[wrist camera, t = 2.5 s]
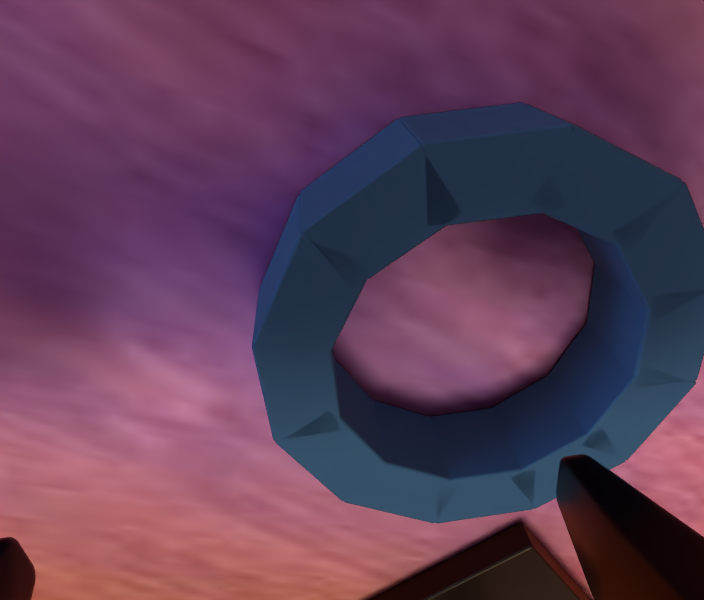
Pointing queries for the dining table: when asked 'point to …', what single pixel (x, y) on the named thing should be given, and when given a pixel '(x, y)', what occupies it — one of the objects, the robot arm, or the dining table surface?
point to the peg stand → (494, 573)
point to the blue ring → (532, 402)
